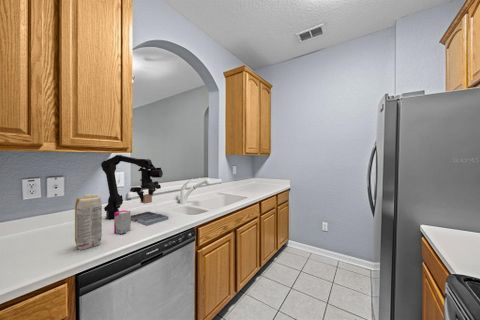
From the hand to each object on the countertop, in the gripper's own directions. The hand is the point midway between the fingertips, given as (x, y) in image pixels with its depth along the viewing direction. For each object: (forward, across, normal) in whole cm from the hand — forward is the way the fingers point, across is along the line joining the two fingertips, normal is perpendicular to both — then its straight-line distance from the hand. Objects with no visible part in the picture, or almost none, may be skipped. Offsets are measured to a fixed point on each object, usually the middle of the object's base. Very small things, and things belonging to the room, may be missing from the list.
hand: (146, 200), depth 129 cm
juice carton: (+12, -38, -14) cm, 42 cm away
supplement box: (+13, -20, -10) cm, 26 cm away
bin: (+12, 0, +4) cm, 13 cm away
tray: (+12, 0, -8) cm, 15 cm away
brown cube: (+1, 0, 0) cm, 1 cm away
